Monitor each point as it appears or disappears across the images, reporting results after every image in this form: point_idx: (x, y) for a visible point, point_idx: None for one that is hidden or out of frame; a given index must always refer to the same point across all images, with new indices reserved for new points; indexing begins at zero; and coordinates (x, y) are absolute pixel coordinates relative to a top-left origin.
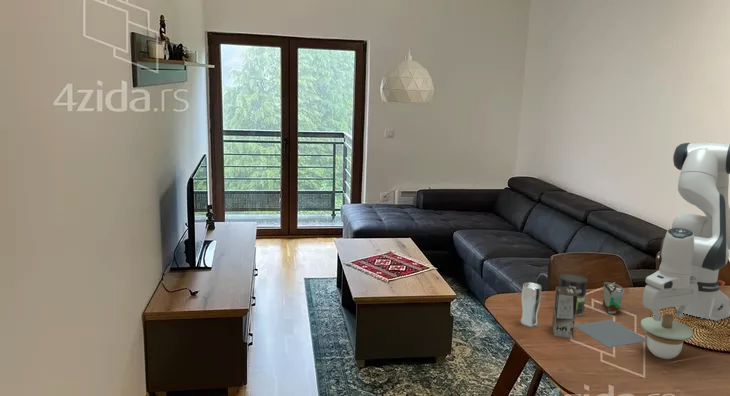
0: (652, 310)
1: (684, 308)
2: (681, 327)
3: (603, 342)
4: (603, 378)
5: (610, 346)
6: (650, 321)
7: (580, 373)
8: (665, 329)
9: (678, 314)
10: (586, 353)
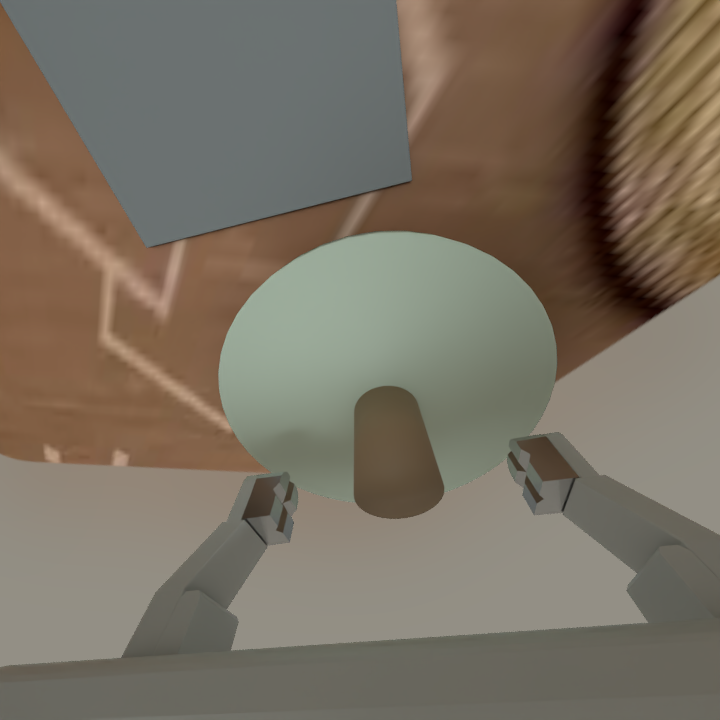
0: (171, 589)
1: (628, 565)
2: (478, 426)
3: (124, 182)
4: (103, 429)
5: (157, 236)
6: (318, 329)
7: (28, 405)
8: (347, 442)
9: (525, 479)
10: (38, 280)
